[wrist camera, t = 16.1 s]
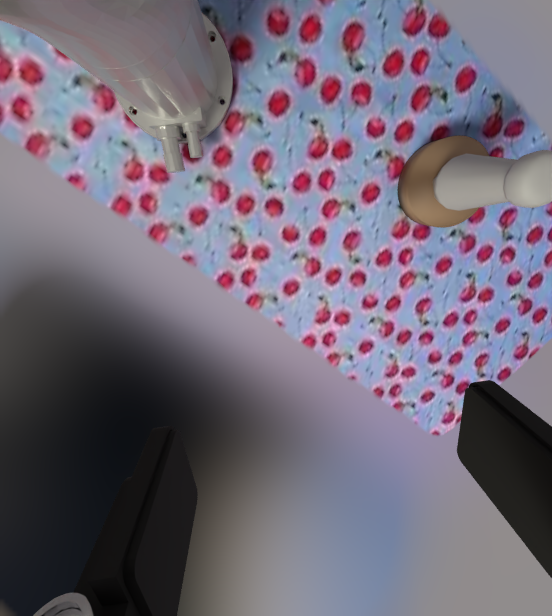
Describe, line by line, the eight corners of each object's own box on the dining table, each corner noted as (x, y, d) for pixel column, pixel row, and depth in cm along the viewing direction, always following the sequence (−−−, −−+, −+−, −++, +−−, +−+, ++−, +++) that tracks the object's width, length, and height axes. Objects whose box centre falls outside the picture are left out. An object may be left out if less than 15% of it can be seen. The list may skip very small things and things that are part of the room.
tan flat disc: (469, 220, 40) (485, 222, 38) (396, 229, 40) (407, 232, 37) (479, 135, 37) (498, 130, 34) (398, 144, 36) (411, 141, 34)
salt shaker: (457, 144, 34) (571, 117, 22) (482, 184, 36) (599, 180, 24) (415, 182, 35) (501, 177, 23) (441, 219, 37) (533, 232, 25)
